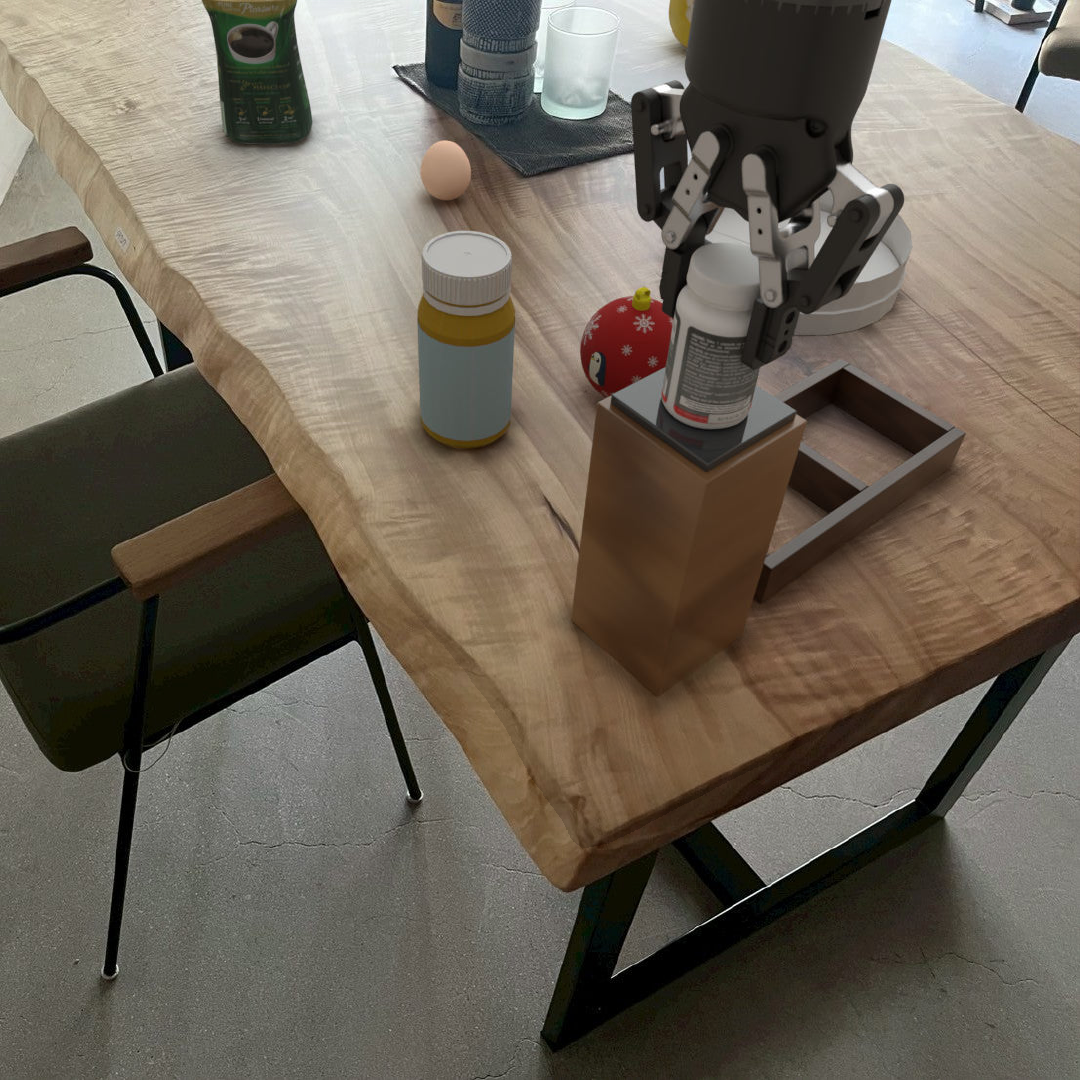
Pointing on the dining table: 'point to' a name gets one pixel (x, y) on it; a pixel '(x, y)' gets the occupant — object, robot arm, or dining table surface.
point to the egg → (445, 170)
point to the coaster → (695, 442)
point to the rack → (840, 489)
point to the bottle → (466, 339)
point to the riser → (673, 545)
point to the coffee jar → (259, 71)
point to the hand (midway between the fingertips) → (719, 334)
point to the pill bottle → (713, 339)
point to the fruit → (681, 19)
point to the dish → (869, 290)
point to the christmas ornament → (625, 342)
